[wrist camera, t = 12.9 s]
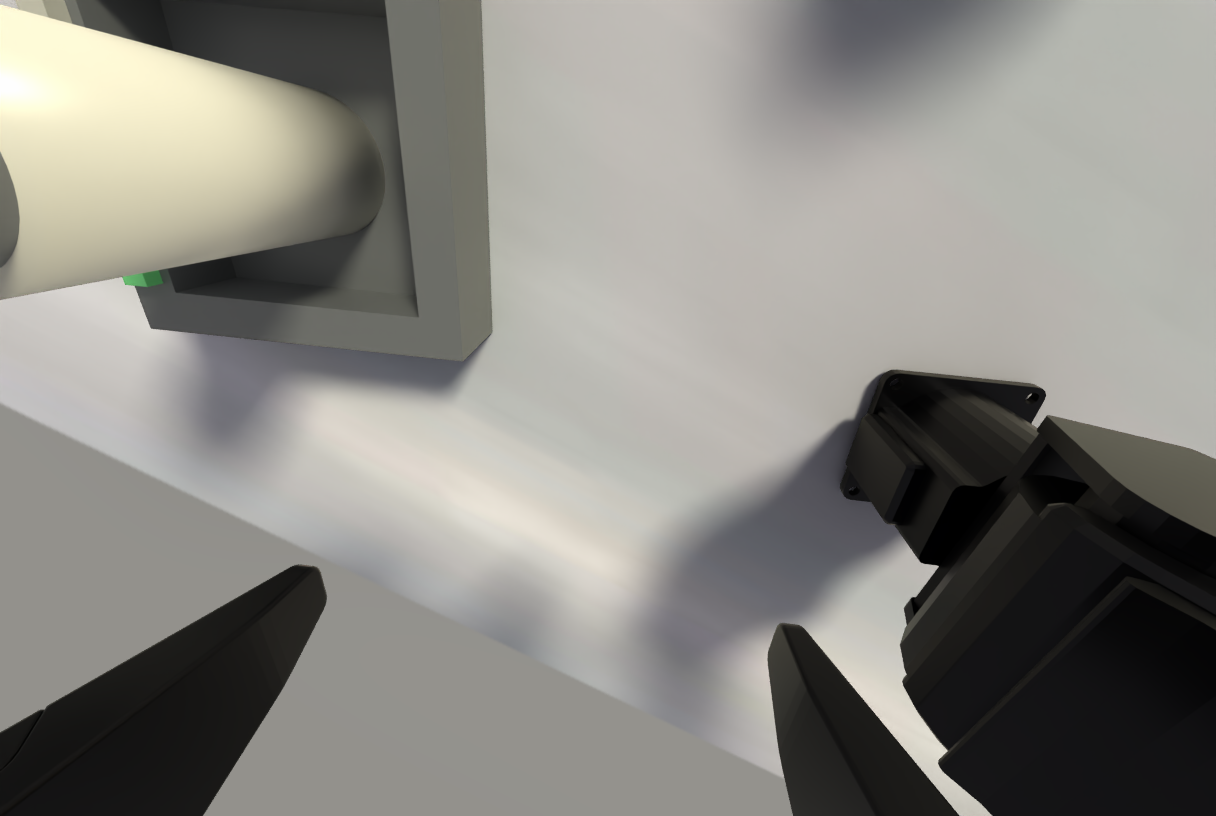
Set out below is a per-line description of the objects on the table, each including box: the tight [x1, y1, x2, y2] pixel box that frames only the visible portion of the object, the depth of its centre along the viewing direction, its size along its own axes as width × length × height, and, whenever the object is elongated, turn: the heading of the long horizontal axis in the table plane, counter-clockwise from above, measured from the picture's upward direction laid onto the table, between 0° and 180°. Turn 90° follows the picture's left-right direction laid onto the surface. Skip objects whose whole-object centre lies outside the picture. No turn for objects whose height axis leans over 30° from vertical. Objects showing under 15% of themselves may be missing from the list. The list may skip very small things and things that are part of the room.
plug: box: [0, 5, 385, 300], centre depth 11 cm, size 5×5×13 cm
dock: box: [15, 0, 492, 361], centre depth 16 cm, size 12×12×4 cm
